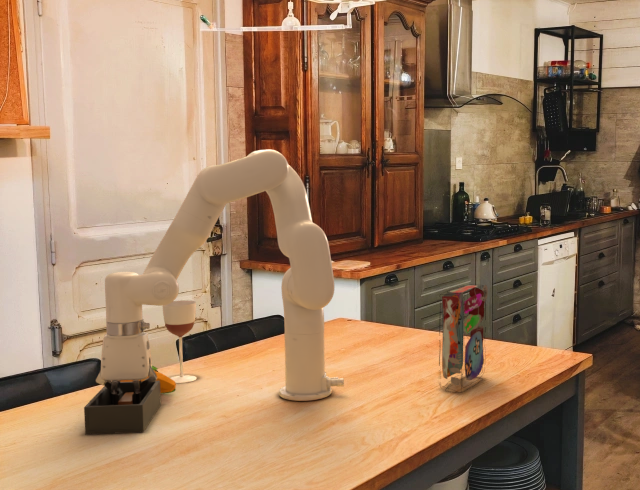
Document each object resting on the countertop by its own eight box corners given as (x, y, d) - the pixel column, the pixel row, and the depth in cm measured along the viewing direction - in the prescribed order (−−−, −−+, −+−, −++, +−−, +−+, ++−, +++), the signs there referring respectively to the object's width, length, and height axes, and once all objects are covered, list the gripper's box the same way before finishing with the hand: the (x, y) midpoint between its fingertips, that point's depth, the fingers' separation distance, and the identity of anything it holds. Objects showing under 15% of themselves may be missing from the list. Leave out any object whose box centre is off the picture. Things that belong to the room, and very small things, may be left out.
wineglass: (158, 381, 199) (155, 304, 197) (180, 373, 207) (177, 299, 205) (183, 384, 196) (181, 306, 194) (204, 376, 204) (202, 301, 202)
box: (476, 368, 212) (477, 279, 210) (497, 370, 209) (498, 281, 207) (438, 391, 190) (438, 292, 188) (461, 394, 187) (462, 294, 185)
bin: (160, 404, 180) (160, 380, 179) (143, 432, 161) (142, 405, 160) (108, 406, 178) (107, 382, 178) (85, 434, 159) (83, 407, 159)
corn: (129, 355, 195) (186, 364, 185) (132, 384, 197) (189, 395, 187) (105, 363, 189) (163, 373, 179) (108, 393, 190) (166, 405, 180)
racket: (150, 404, 177) (150, 391, 177) (136, 425, 162) (135, 411, 162) (114, 405, 176) (113, 392, 176) (96, 427, 161) (95, 413, 161)
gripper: (166, 324, 175) (168, 403, 177) (91, 326, 173) (94, 406, 175) (159, 331, 168) (162, 413, 170) (81, 333, 166) (84, 416, 168)
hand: (127, 409), depth 172 cm, fingers closed on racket, 2 cm apart
